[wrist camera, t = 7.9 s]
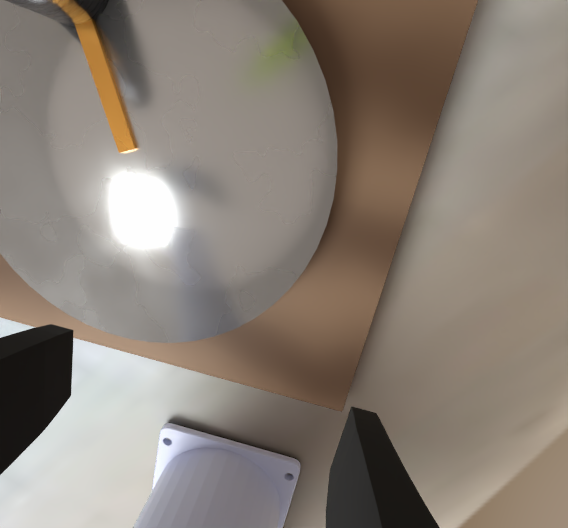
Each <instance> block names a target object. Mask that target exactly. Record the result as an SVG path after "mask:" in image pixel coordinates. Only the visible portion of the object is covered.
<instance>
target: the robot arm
mask: <svg viewBox="0 0 568 528" xmlns="http://www.w3.org/2000/svg"><path fill="white" fill-rule="evenodd" d="M72 354H73V330H71V329H68V328H64V327H60V326H57V325H53V324H49V325H45V326H40V327H36V328H33V329H29V330H26V331H22V332H19V333H15V334H12V335H9V336H5V337H2V338H0V475H1V474H2V473H3V472H4V471H5V470H6V469H7V468H8V467H9V466H10V465H11V464H12V463H13V462H14V461H15V460H16V459H17V458H18V457H19V455H20V454H21V453H22V452H23V451H24V450H25V449H26V448H27V447H28V446H29V445H30V444H31V443H32V442H33V441H34V440H35V439H36V438H37V437H38V436H39V435H40V434H41V433H42V432H43V431H44V430H45V428H46V427H47V426H48V425H49V423H50V422H51V421H52V420H53V418H54V417H55V416H56V415H57V413H58V412H59V411H60V409H61V408H62V407H63V405H64V404H65V403H66V401H67V400H68V399H69V397H70V396H71V379H72ZM167 438H169V439H170V440H168V439H167ZM300 468H301V464H300V462H299V461H298V460H297V459H294V458H291V457H288V456H284V455H281V454H277V453H274V452H270V451H267V450H263V449H260V448H256V447H253V446H249V445H246V444H242V443H239V442H235V441H232V440H228V439H225V438H221V437H218V436H214V435H211V434H207V433H204V432H200V431H197V430H193V429H190V428H186V427H183V426H179V425H176V424H172V423H167V424H165V425H163V427H162V429H161V431H160V436H159V443H158V451H157V458H156V465H155V472H154V479H153V486H152V492H151V494H150V496H149V498H148V500H147V502H146V504H145V505H144V507H143V509H142V511H141V513H140V515H139V517H138V519H137V520H136V522H135V524H134V526H133V528H283V526H284V523H285V519H286V516H287V513H288V510H289V506H290V503H291V500H292V497H293V493H294V490H295V487H296V483H297V480H298V477H299V474H300ZM287 473H290V474H292V475H288V474H287ZM326 528H439V526H438V524H437V523H436V521H435V520H434V518H433V516H432V515H431V513H430V511H429V510H428V508H427V506H426V505H425V503H424V501H423V500H422V498H421V496H420V494H419V493H418V491H417V489H416V487H415V486H414V484H413V482H412V480H411V478H410V477H409V475H408V473H407V471H406V469H405V468H404V466H403V464H402V462H401V460H400V458H399V456H398V454H397V452H396V451H395V449H394V447H393V445H392V443H391V441H390V439H389V437H388V435H387V433H386V431H385V429H384V427H383V425H382V423H381V421H380V419H379V417H378V415H377V414H376V413H373V412H370V411H366V410H362V409H359V408H355V407H351V410H350V413H349V416H348V418H347V421H346V424H345V427H344V430H343V433H342V436H341V439H340V442H339V445H338V448H337V451H336V454H335V457H334V460H333V463H332V466H331V469H330V476H329V486H328V496H327V507H326Z"/></svg>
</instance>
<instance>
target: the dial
mask: <svg viewBox="0 0 568 528" xmlns="http://www.w3.org/2000/svg"><path fill="white" fill-rule="evenodd" d="M336 176H337V133H336V125H335V118H334V111H333V107H332V103H331V99H330V95H329V92H328V88H327V84H326V81H325V78H324V75H323V73H322V70H321V68H320V65H319V63H318V60H317V58H316V55H315V53H314V50H313V48H312V47H311V45H310V43H309V41H308V39H307V38H306V36H305V34H304V32H303V30H302V29H301V27H300V25H299V23H298V21H297V20H296V19H295V17H294V16H293V15H292V13H291V12H290V11H289V9H288V8H287V6H286V5H285V4H284V2H283V1H282V0H0V254H1V255H2V256H3V257H4V259H5V260H6V261H7V262H8V264H9V265H10V266H11V267H12V269H13V270H14V271H15V272H16V273H17V274H18V275H19V276H20V277H21V278H22V279H23V280H24V281H25V282H26V283H27V284H28V285H29V286H30V287H31V288H33V289H34V290H35V291H36V292H37V293H39V294H40V295H41V296H42V297H43V298H45V299H46V300H47V301H48V302H50V303H51V304H53V305H54V306H56V307H57V308H59V309H60V310H62V311H63V312H65V313H66V314H68V315H70V316H72V317H74V318H75V319H77V320H79V321H81V322H83V323H85V324H87V325H89V326H92V327H94V328H97V329H99V330H102V331H104V332H107V333H110V334H113V335H117V336H120V337H124V338H128V339H133V340H139V341H146V342H157V343H178V342H189V341H196V340H201V339H205V338H210V337H214V336H217V335H220V334H223V333H225V332H228V331H231V330H233V329H236V328H238V327H240V326H241V325H243V324H245V323H247V322H249V321H251V320H253V319H255V318H256V317H257V316H259V315H260V314H261V313H263V312H264V311H266V310H267V309H268V308H270V307H271V306H272V305H274V304H275V303H276V302H277V301H278V300H279V299H280V298H281V297H282V296H283V295H284V294H285V293H286V292H287V291H288V290H289V289H290V288H291V287H292V285H293V284H294V283H295V282H296V280H297V279H298V278H299V276H300V275H301V274H302V273H303V271H304V270H305V268H306V266H307V265H308V263H309V261H310V260H311V258H312V256H313V254H314V253H315V251H316V249H317V247H318V245H319V242H320V240H321V237H322V235H323V233H324V230H325V228H326V225H327V222H328V218H329V214H330V210H331V207H332V203H333V199H334V192H335V184H336Z"/></svg>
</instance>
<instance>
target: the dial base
mask: <svg viewBox="0 0 568 528" xmlns="http://www.w3.org/2000/svg"><path fill="white" fill-rule="evenodd" d="M282 1H283V2H284V4H285V5H286V6H287V8H288V9H289V11H290V12H291V13H292V15H293V16H294V17H295V19H296V20H297V21H298V23H299V25H300V27H301V29H302V30H303V32H304V34H305V36H306V38H307V39H308V41H309V43H310V45H311V47H312V48H313V50H314V53H315V55H316V58H317V60H318V63H319V65H320V68H321V70H322V73H323V75H324V78H325V81H326V84H327V88H328V92H329V95H330V99H331V103H332V107H333V111H334V118H335V125H336V133H337V176H336V184H335V192H334V199H333V203H332V207H331V210H330V214H329V218H328V222H327V225H326V228H325V230H324V233H323V235H322V237H321V240H320V242H319V245H318V247H317V249H316V251H315V253H314V254H313V256H312V258H311V260H310V261H309V263H308V265H307V266H306V268H305V270H304V271H303V273H302V274H301V275H300V276H299V278H298V279H297V280H296V282H295V283H294V284H293V285H292V287H291V288H290V289H289V290H288V291H287V292H286V293H285V294H284V295H283V296H282V297H281V298H280V299H279V300H278V301H277V302H276V303H275V304H274V305H272V306H271V307H270V308H268V309H267V310H266V311H264V312H263V313H261V314H260V315H259V316H257V317H256V318H255V319H253V320H251V321H249V322H247V323H245V324H243V325H241V326H240V327H238V328H236V329H233V330H231V331H228V332H225V333H223V334H220V335H217V336H214V337H210V338H205V339H201V340H196V341H189V342H178V343H157V342H146V341H139V340H133V339H128V338H124V337H120V336H117V335H113V334H110V333H107V332H104V331H102V330H99V329H97V328H94V327H92V326H89V325H87V324H85V323H83V322H81V321H79V320H77V319H75V318H74V317H72V316H70V315H68V314H66V313H65V312H63V311H62V310H60V309H59V308H57V307H56V306H54V305H53V304H51V303H50V302H48V301H47V300H46V299H45V298H43V297H42V296H41V295H40V294H39V293H37V292H36V291H35V290H34V289H33V288H31V287H30V286H29V285H28V284H27V283H26V282H25V281H24V280H23V279H22V278H21V277H20V276H19V275H18V274H17V273H16V272H15V271H14V270H13V269H12V267H11V266H10V265H9V264H8V262H7V261H6V260H5V259H4V257H3V256H2V255H1V254H0V317H1V318H4V319H8V320H12V321H15V322H19V323H22V324H26V325H30V326H33V327H40V326H45V325H49V324H53V325H57V326H60V327H64V328H68V329H71V330H73V338H77V339H80V340H84V341H88V342H91V343H95V344H99V345H102V346H106V347H109V348H113V349H117V350H120V351H124V352H127V353H131V354H135V355H138V356H142V357H146V358H149V359H153V360H156V361H160V362H164V363H167V364H171V365H175V366H178V367H182V368H185V369H189V370H193V371H196V372H200V373H204V374H207V375H211V376H214V377H218V378H222V379H225V380H229V381H232V382H236V383H240V384H243V385H247V386H251V387H254V388H258V389H261V390H265V391H269V392H272V393H276V394H280V395H283V396H287V397H290V398H294V399H298V400H301V401H305V402H309V403H312V404H316V405H319V406H323V407H327V408H330V409H334V410H337V411H341V412H342V411H343V408H344V405H345V402H346V399H347V396H348V393H349V389H350V386H351V383H352V380H353V377H354V374H355V371H356V368H357V365H358V362H359V359H360V356H361V353H362V350H363V347H364V344H365V341H366V338H367V335H368V332H369V329H370V326H371V323H372V320H373V317H374V314H375V311H376V308H377V305H378V302H379V299H380V296H381V293H382V290H383V287H384V284H385V281H386V278H387V275H388V271H389V268H390V265H391V262H392V259H393V256H394V253H395V250H396V247H397V244H398V241H399V238H400V235H401V232H402V229H403V226H404V223H405V220H406V217H407V214H408V211H409V208H410V205H411V202H412V199H413V196H414V193H415V190H416V187H417V184H418V181H419V178H420V175H421V172H422V169H423V166H424V163H425V160H426V157H427V154H428V150H429V147H430V144H431V141H432V138H433V135H434V132H435V129H436V126H437V123H438V120H439V117H440V114H441V111H442V108H443V105H444V102H445V99H446V96H447V93H448V90H449V87H450V84H451V81H452V78H453V75H454V72H455V69H456V66H457V63H458V60H459V57H460V54H461V51H462V48H463V45H464V42H465V39H466V36H467V32H468V29H469V26H470V23H471V20H472V17H473V14H474V11H475V8H476V5H477V2H478V0H282Z"/></svg>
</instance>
